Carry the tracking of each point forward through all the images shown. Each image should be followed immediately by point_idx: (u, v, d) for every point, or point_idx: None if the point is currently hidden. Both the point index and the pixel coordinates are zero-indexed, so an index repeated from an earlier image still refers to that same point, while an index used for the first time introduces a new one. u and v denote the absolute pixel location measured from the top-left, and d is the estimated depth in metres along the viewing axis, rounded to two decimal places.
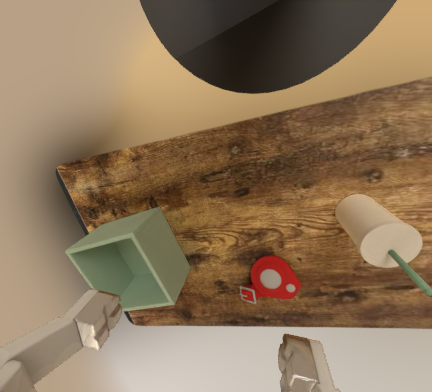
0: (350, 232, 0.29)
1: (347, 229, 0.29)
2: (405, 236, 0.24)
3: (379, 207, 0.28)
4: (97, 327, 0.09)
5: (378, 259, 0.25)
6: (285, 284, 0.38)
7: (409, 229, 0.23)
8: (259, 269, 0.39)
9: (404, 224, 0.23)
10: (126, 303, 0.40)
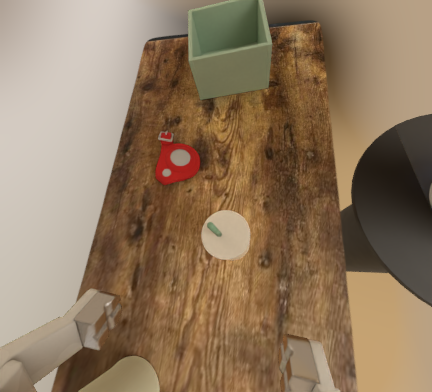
0: None
1: None
2: (234, 245, 0.26)
3: (247, 247, 0.30)
4: (96, 327, 0.09)
5: (212, 224, 0.27)
6: (171, 168, 0.39)
7: (241, 248, 0.25)
8: (190, 151, 0.41)
9: (247, 245, 0.25)
10: (193, 27, 0.43)
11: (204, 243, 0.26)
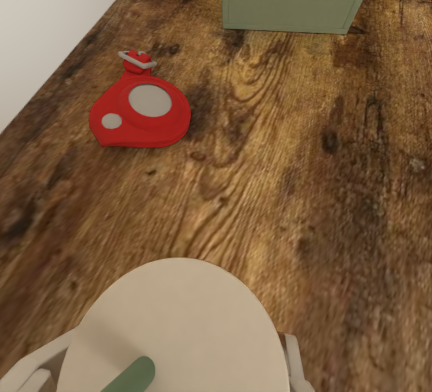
0: None
1: None
2: None
3: None
4: None
5: (132, 309, 0.06)
6: (124, 116, 0.18)
7: None
8: (175, 98, 0.20)
9: None
10: None
11: None
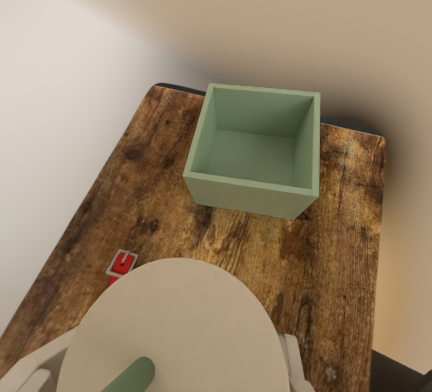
0: None
1: None
2: None
3: None
4: None
5: (132, 310, 0.06)
6: None
7: None
8: None
9: None
10: (209, 110, 0.29)
11: None
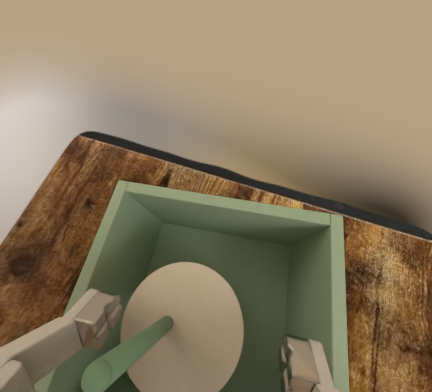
0: None
1: None
2: (194, 370, 0.10)
3: None
4: (96, 327, 0.09)
5: (160, 291, 0.11)
6: None
7: (210, 385, 0.09)
8: None
9: (226, 380, 0.10)
10: (115, 240, 0.14)
11: (124, 337, 0.10)
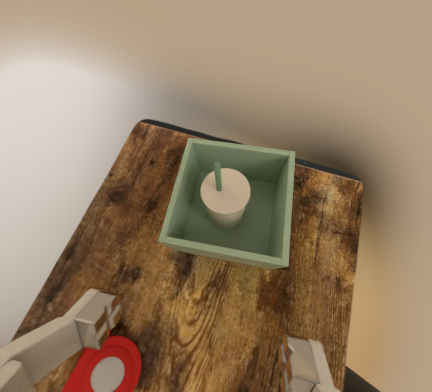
0: None
1: None
2: (231, 202, 0.25)
3: (241, 215, 0.30)
4: (97, 327, 0.09)
5: (215, 178, 0.27)
6: None
7: (237, 207, 0.25)
8: (128, 360, 0.27)
9: (243, 206, 0.25)
10: (188, 166, 0.30)
11: (202, 193, 0.26)
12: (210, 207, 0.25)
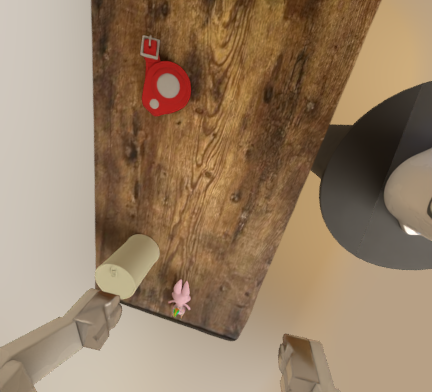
0: None
1: None
2: None
3: None
4: (96, 327, 0.09)
5: None
6: (159, 100, 0.36)
7: None
8: (180, 77, 0.35)
9: None
10: None
11: None
12: None
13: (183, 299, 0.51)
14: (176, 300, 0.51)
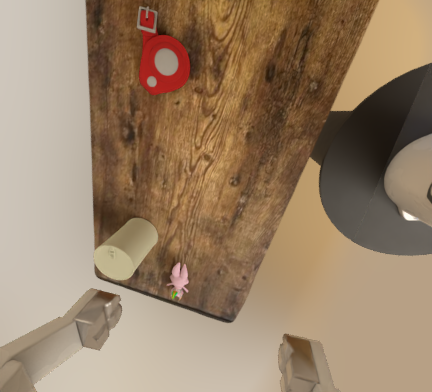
0: None
1: None
2: None
3: None
4: (96, 327, 0.09)
5: None
6: (157, 77, 0.35)
7: None
8: (178, 53, 0.34)
9: None
10: None
11: None
12: None
13: (181, 281, 0.52)
14: (174, 283, 0.52)
